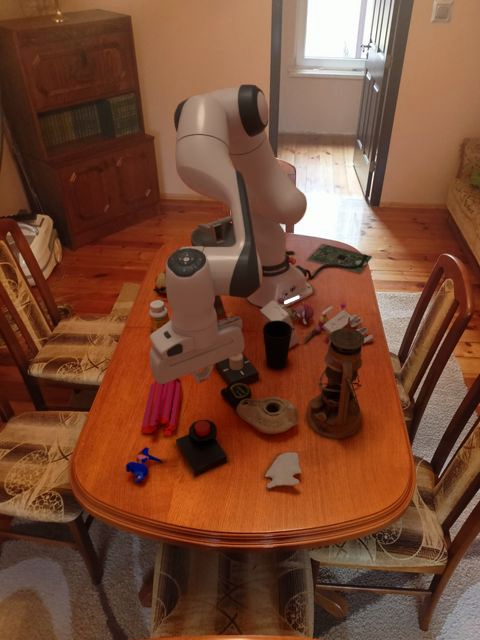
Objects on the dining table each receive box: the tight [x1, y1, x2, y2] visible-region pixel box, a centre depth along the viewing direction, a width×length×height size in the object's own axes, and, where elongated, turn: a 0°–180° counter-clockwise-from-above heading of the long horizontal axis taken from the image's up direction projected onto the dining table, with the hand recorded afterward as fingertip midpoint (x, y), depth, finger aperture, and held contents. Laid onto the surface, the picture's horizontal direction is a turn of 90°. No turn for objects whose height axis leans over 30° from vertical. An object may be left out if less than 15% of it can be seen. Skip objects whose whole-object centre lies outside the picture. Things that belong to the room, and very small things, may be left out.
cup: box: [262, 320, 292, 371], centre depth 131 cm, size 8×8×12 cm
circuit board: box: [307, 243, 373, 274], centre depth 180 cm, size 14×20×1 cm
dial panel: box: [214, 352, 260, 387], centre depth 130 cm, size 8×10×3 cm
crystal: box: [140, 378, 183, 437], centre depth 121 cm, size 8×6×25 cm
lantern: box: [306, 317, 365, 440], centre depth 109 cm, size 17×13×30 cm
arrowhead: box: [264, 451, 302, 489], centre depth 106 cm, size 8×2×10 cm
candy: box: [318, 301, 347, 347], centre depth 144 cm, size 18×8×6 cm, turn 173°
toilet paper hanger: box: [197, 214, 233, 244], centre depth 174 cm, size 22×13×6 cm, turn 127°
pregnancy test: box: [320, 305, 354, 335], centre depth 143 cm, size 8×12×1 cm, turn 141°
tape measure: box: [220, 382, 253, 412], centre depth 122 cm, size 7×7×4 cm
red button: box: [195, 419, 210, 437], centre depth 110 cm, size 3×3×2 cm
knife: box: [286, 250, 295, 255], centre depth 186 cm, size 14×4×1 cm, turn 30°
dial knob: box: [229, 352, 243, 370], centre depth 128 cm, size 4×4×4 cm
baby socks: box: [350, 313, 374, 344], centre depth 144 cm, size 12×5×3 cm, turn 16°
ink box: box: [259, 301, 301, 349], centre depth 138 cm, size 9×5×12 cm, turn 32°
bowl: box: [190, 222, 236, 247], centre depth 177 cm, size 20×20×10 cm
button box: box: [175, 419, 228, 478], centre depth 110 cm, size 9×11×4 cm
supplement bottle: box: [148, 299, 170, 333], centre depth 143 cm, size 5×5×10 cm
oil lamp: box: [235, 396, 299, 435], centre depth 115 cm, size 11×15×8 cm
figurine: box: [125, 446, 163, 484], centre depth 106 cm, size 5×8×5 cm, turn 158°
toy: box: [152, 270, 167, 295], centre depth 159 cm, size 8×9×15 cm
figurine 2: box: [278, 298, 322, 344], centre depth 144 cm, size 11×13×15 cm
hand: (202, 379), depth 105 cm, fingers closed
